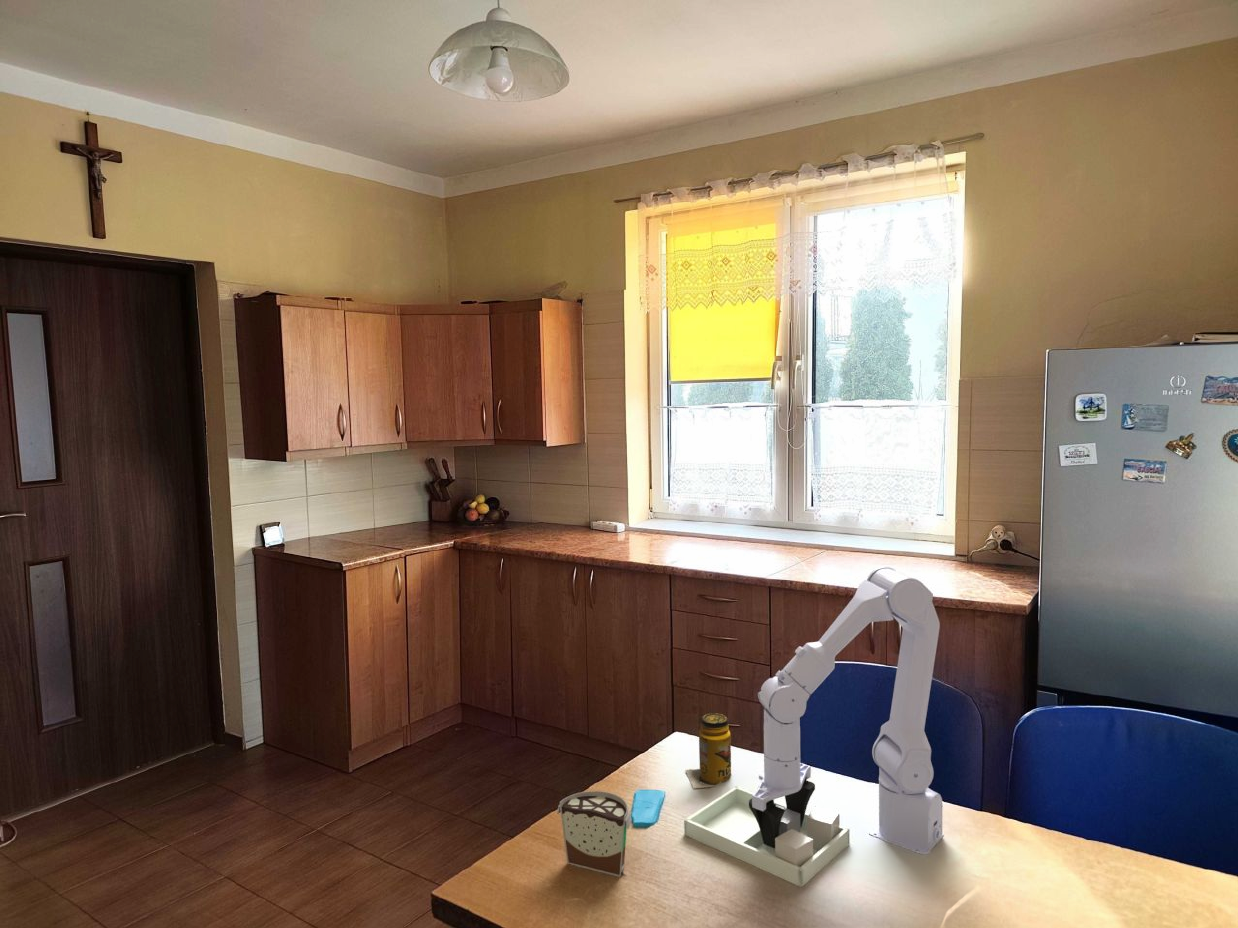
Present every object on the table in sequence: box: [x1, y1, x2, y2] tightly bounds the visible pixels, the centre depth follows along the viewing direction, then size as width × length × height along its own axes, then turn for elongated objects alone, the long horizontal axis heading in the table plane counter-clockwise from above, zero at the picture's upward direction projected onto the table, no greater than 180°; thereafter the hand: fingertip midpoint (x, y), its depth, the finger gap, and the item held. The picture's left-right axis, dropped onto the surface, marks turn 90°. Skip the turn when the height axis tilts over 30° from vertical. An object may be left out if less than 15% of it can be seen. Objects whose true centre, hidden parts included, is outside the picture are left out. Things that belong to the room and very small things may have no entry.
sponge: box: [630, 788, 666, 828], centre depth 142 cm, size 2×12×6 cm
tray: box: [683, 786, 850, 888], centre depth 130 cm, size 22×15×3 cm
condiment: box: [684, 712, 733, 790], centre depth 152 cm, size 7×8×12 cm
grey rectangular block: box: [769, 806, 800, 849], centre depth 128 cm, size 4×4×5 cm
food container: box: [557, 790, 632, 878], centre depth 126 cm, size 12×6×10 cm, turn 65°
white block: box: [775, 829, 813, 867], centre depth 121 cm, size 4×4×5 cm
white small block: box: [807, 806, 840, 851], centre depth 128 cm, size 4×4×5 cm
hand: (782, 834), depth 128 cm, fingers open, 7 cm apart
